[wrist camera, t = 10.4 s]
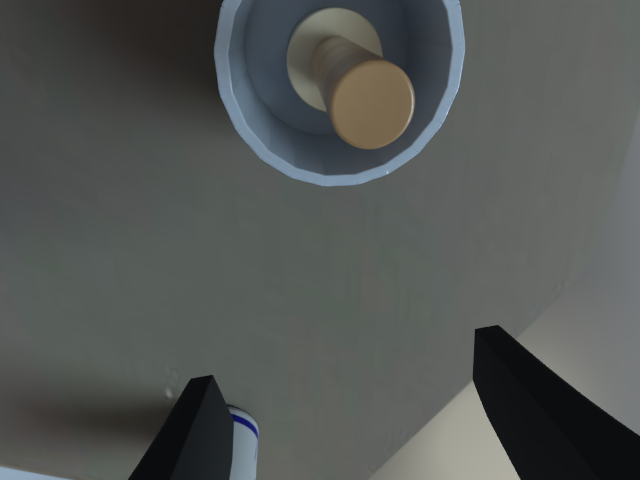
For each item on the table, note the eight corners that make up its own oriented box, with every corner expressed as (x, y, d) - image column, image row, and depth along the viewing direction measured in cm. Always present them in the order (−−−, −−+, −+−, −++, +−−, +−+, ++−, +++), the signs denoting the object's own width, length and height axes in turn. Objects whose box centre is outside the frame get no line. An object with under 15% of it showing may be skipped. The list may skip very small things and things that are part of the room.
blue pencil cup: (205, 76, 16) (171, 104, 12) (302, -109, 13) (309, -172, 9) (343, 168, 19) (361, 222, 14) (448, 28, 16) (516, 36, 11)
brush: (271, 65, 16) (251, 131, 7) (317, -14, 14) (358, -43, 6) (336, 112, 17) (383, 216, 8) (384, 43, 15) (496, 84, 7)
